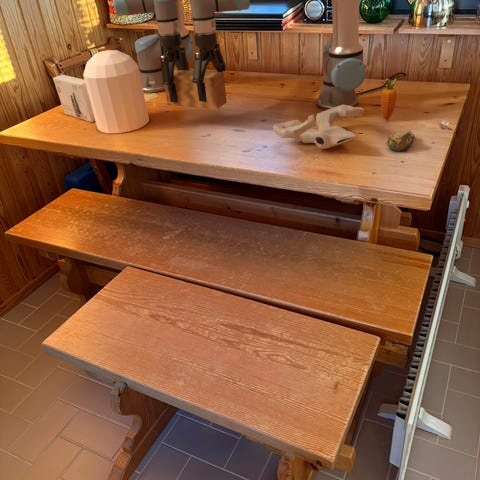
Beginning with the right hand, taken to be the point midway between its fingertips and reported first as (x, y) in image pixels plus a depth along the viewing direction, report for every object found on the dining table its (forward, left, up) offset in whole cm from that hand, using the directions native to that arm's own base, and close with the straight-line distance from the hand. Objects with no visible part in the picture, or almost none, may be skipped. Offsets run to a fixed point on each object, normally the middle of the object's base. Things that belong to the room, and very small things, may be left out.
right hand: (212, 95), depth 168 cm
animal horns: (-29, +35, -12) cm, 47 cm away
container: (+33, -21, -12) cm, 41 cm away
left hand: (+11, -10, -2) cm, 15 cm away
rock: (-50, +46, -12) cm, 69 cm away
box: (+5, -5, -4) cm, 8 cm away
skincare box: (+50, -39, -12) cm, 64 cm away
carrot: (-57, +25, -12) cm, 64 cm away
